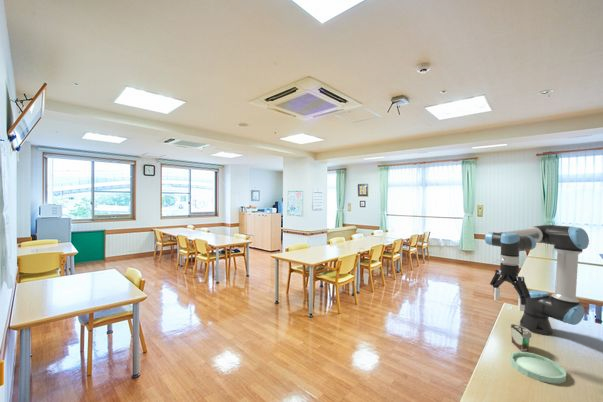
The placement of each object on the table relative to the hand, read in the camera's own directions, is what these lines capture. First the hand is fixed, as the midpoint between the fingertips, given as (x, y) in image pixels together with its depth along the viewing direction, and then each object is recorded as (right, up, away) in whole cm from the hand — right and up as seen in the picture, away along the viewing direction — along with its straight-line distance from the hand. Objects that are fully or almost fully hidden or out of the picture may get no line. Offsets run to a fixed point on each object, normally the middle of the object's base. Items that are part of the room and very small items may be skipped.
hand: (508, 305), depth 140 cm
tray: (+6, -27, -10) cm, 29 cm away
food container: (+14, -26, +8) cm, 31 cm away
